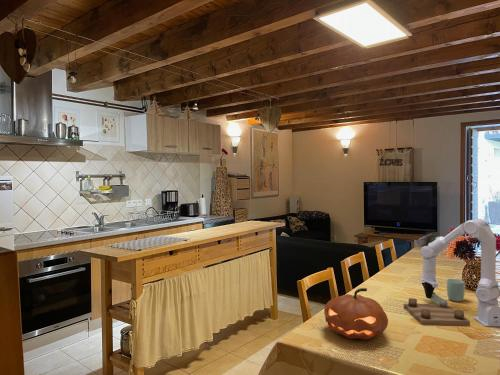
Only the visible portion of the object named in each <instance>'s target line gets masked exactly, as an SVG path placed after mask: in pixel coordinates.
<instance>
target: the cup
mask: <svg viewBox="0 0 500 375" xmlns="http://www.w3.org/2000/svg"><path fill="white" fill-rule="evenodd" d="M465 285H466V284H465V281H464V280H462V279H460V278H459V279H458V278H447V280H446V294H447V298H448V299H449V300H450V301H451V302H458V303H459V302H462V301H464V298H465V291H466V289H465V288H466V286H465Z"/></svg>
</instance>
